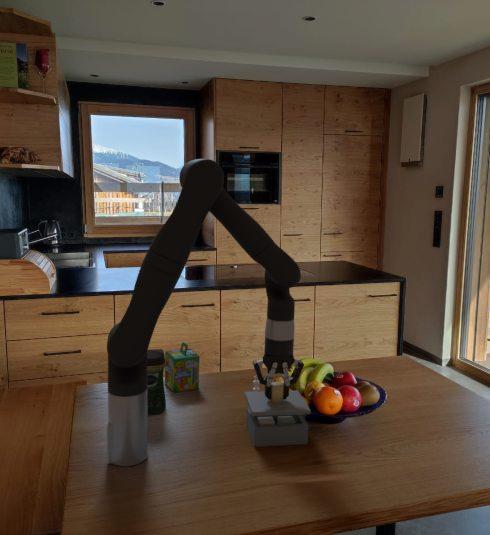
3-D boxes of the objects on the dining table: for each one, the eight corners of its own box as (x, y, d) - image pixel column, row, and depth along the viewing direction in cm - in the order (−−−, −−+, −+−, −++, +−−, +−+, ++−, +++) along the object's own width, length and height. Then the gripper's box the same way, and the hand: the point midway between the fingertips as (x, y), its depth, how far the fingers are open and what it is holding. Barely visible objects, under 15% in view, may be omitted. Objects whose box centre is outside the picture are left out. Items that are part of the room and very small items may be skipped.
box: (253, 450, 125) (254, 427, 124) (246, 428, 137) (247, 407, 136) (307, 447, 127) (308, 425, 126) (295, 425, 139) (296, 405, 138)
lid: (252, 415, 123) (253, 394, 123) (244, 395, 136) (245, 376, 135) (310, 414, 126) (311, 393, 125) (297, 393, 138) (298, 375, 138)
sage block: (280, 437, 130) (281, 423, 130) (277, 430, 134) (277, 416, 134) (295, 436, 131) (295, 422, 130) (291, 429, 135) (292, 415, 134)
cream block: (259, 438, 129) (260, 424, 129) (256, 431, 133) (257, 417, 133) (274, 437, 130) (275, 423, 129) (271, 430, 134) (272, 416, 133)
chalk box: (164, 383, 168) (164, 341, 165) (189, 379, 172) (189, 338, 170) (173, 393, 159) (173, 349, 157) (199, 389, 164) (200, 345, 162)
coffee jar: (165, 404, 151) (165, 345, 149) (166, 415, 144) (166, 353, 141) (132, 405, 149) (132, 346, 147) (132, 417, 142) (131, 355, 139)
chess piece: (257, 411, 148) (258, 379, 147) (244, 406, 151) (245, 375, 150) (266, 406, 152) (267, 374, 150) (253, 401, 155) (254, 371, 153)
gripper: (255, 339, 123) (252, 405, 126) (310, 339, 126) (306, 403, 128) (250, 331, 131) (247, 393, 133) (302, 331, 133) (298, 392, 135)
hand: (276, 398), depth 131 cm, fingers closed on lid, 3 cm apart
